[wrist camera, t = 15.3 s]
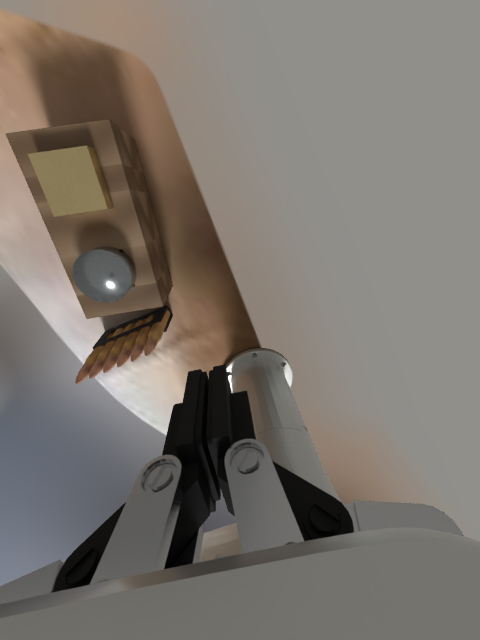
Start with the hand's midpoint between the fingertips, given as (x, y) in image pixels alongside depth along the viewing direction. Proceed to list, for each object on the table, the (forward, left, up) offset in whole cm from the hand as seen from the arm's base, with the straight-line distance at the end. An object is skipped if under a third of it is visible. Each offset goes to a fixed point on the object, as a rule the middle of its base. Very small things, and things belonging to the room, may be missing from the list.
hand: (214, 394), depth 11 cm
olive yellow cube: (+11, +11, -23) cm, 27 cm away
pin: (+3, +11, -27) cm, 29 cm away
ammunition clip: (-7, +13, -28) cm, 32 cm away
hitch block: (+7, +11, -28) cm, 30 cm away
